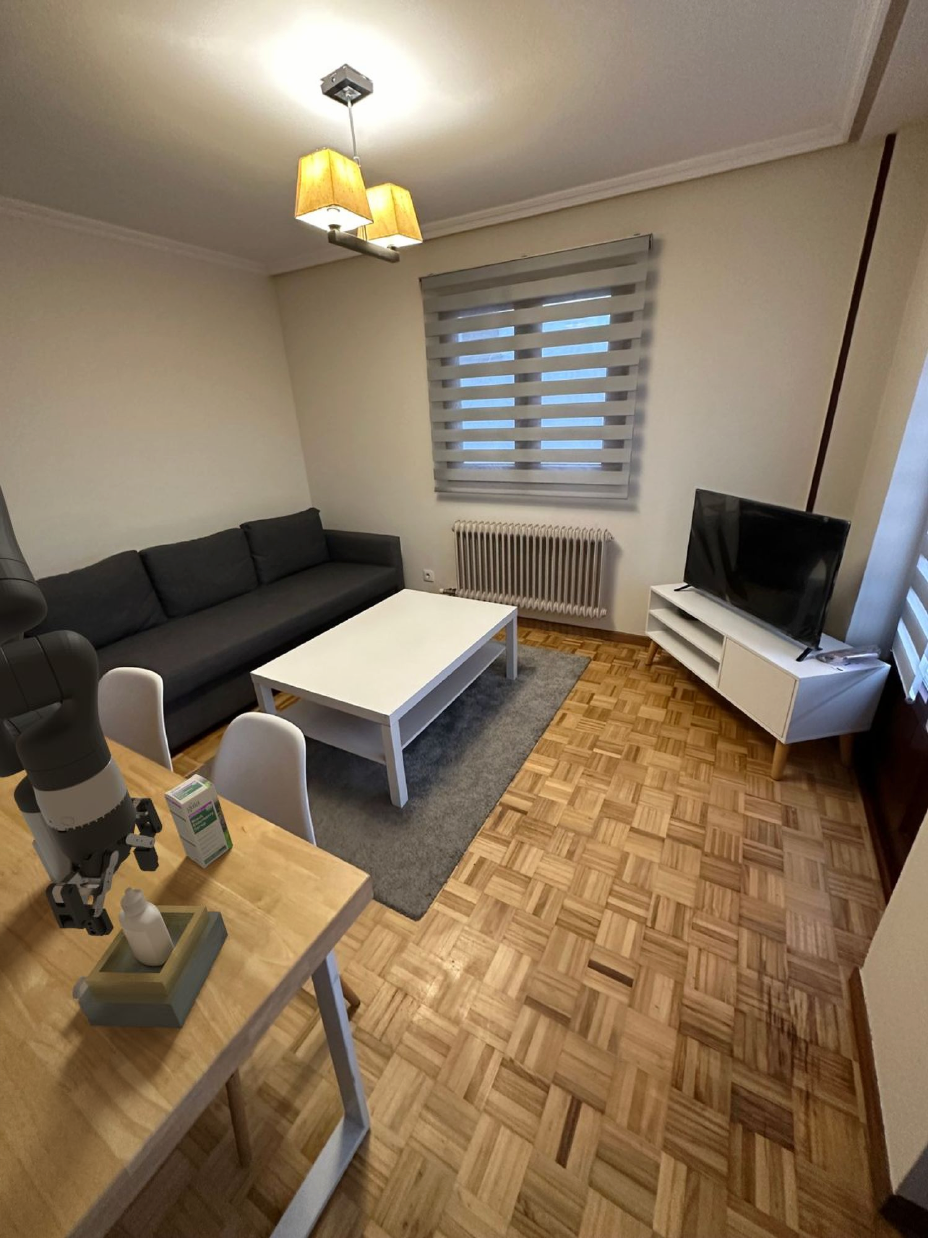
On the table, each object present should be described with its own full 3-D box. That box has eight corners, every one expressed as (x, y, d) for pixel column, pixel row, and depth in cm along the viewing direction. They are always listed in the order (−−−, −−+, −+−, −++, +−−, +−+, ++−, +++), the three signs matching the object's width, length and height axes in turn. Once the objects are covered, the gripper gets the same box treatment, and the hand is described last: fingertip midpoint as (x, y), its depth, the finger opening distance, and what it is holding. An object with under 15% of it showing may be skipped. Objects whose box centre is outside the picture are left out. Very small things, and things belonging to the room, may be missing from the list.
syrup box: (204, 870, 83) (182, 805, 77) (185, 855, 86) (162, 792, 80) (233, 846, 87) (215, 783, 81) (214, 833, 90) (195, 772, 84)
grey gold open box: (68, 1025, 62) (47, 988, 59) (131, 933, 73) (116, 898, 70) (181, 1028, 61) (165, 991, 58) (228, 934, 72) (216, 899, 69)
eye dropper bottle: (139, 980, 62) (110, 916, 57) (132, 947, 66) (104, 885, 61) (177, 957, 64) (152, 894, 60) (168, 926, 68) (144, 865, 64)
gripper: (101, 758, 61) (137, 851, 67) (-4, 852, 48) (53, 956, 54) (158, 759, 61) (189, 852, 67) (67, 854, 48) (117, 958, 54)
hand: (128, 898), depth 61 cm, fingers open, 8 cm apart
